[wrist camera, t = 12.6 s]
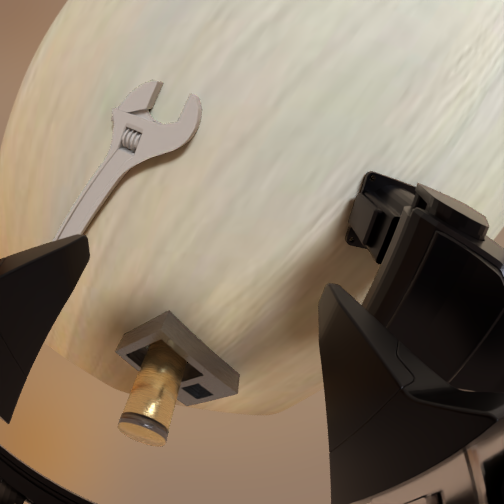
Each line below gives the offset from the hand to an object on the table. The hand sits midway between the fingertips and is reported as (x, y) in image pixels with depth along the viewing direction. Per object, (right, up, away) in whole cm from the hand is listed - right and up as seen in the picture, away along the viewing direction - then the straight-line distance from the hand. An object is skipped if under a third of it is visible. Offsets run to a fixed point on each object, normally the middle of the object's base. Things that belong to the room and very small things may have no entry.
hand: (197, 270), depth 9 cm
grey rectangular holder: (-7, -12, +22) cm, 26 cm away
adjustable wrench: (-13, +7, +13) cm, 19 cm away
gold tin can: (-8, -11, +21) cm, 25 cm away
